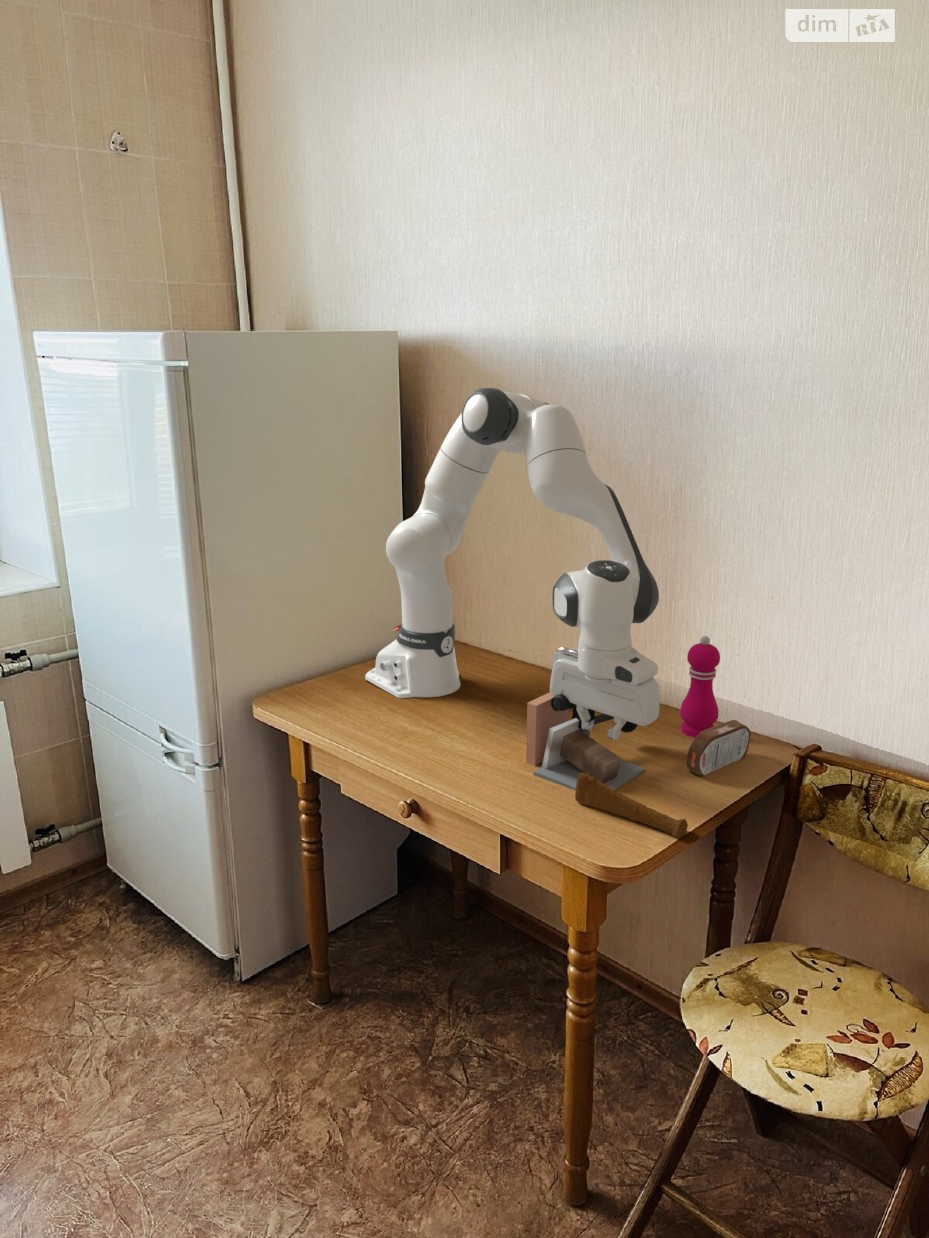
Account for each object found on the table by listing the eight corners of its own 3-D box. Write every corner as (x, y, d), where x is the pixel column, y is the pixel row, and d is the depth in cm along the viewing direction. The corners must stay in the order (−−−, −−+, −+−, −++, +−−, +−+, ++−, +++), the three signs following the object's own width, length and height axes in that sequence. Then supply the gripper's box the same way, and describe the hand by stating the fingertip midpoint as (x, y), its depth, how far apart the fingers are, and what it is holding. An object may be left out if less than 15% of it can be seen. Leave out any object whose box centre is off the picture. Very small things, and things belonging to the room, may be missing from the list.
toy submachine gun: (547, 771, 165) (549, 688, 160) (629, 743, 176) (633, 664, 171) (559, 778, 163) (562, 694, 158) (641, 749, 173) (646, 669, 168)
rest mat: (533, 776, 163) (533, 771, 162) (579, 750, 173) (579, 745, 172) (600, 802, 154) (600, 797, 153) (644, 773, 164) (644, 768, 163)
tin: (737, 755, 170) (741, 713, 168) (751, 761, 168) (755, 719, 165) (683, 778, 162) (686, 734, 159) (697, 785, 160) (701, 741, 157)
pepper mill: (705, 745, 174) (714, 645, 168) (671, 734, 179) (678, 637, 173) (723, 732, 179) (732, 635, 173) (689, 722, 184) (696, 627, 178)
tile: (525, 763, 167) (526, 702, 164) (558, 745, 174) (560, 686, 171) (534, 767, 166) (536, 705, 162) (567, 748, 173) (569, 689, 169)
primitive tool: (576, 799, 153) (566, 808, 150) (579, 769, 151) (569, 777, 148) (687, 837, 143) (680, 846, 141) (692, 805, 142) (685, 814, 139)
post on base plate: (549, 728, 160) (596, 760, 153) (588, 712, 166) (634, 743, 159) (542, 766, 164) (587, 799, 157) (579, 749, 170) (625, 780, 163)
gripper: (543, 649, 159) (541, 722, 164) (646, 678, 146) (641, 757, 151) (564, 640, 164) (562, 711, 168) (666, 667, 151) (661, 744, 155)
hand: (600, 733), depth 159 cm, fingers open, 4 cm apart
